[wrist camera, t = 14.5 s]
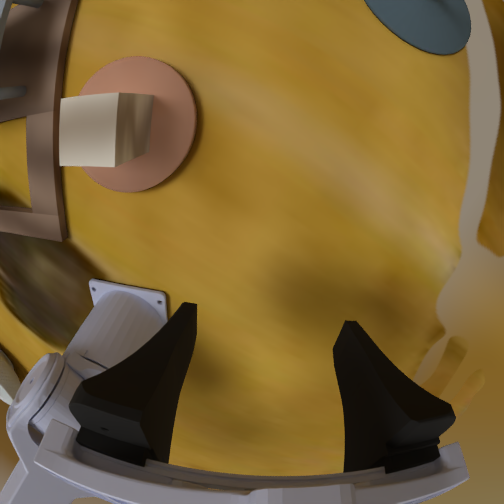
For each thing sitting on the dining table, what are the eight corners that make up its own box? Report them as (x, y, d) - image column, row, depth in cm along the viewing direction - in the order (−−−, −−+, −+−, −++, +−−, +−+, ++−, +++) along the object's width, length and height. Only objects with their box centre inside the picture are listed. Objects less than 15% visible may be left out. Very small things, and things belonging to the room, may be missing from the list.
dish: (191, 194, 20) (187, 198, 19) (78, 185, 19) (72, 188, 19) (205, 56, 15) (202, 53, 14) (82, 66, 15) (75, 65, 14)
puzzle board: (67, 236, 22) (62, 241, 21) (-19, 223, 21) (-24, 226, 20) (84, -20, 10) (78, -23, 10) (-17, 30, 10) (-22, 30, 9)
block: (149, 151, 17) (114, 167, 13) (100, 150, 17) (59, 165, 13) (153, 94, 15) (118, 92, 11) (103, 97, 15) (60, 98, 11)
